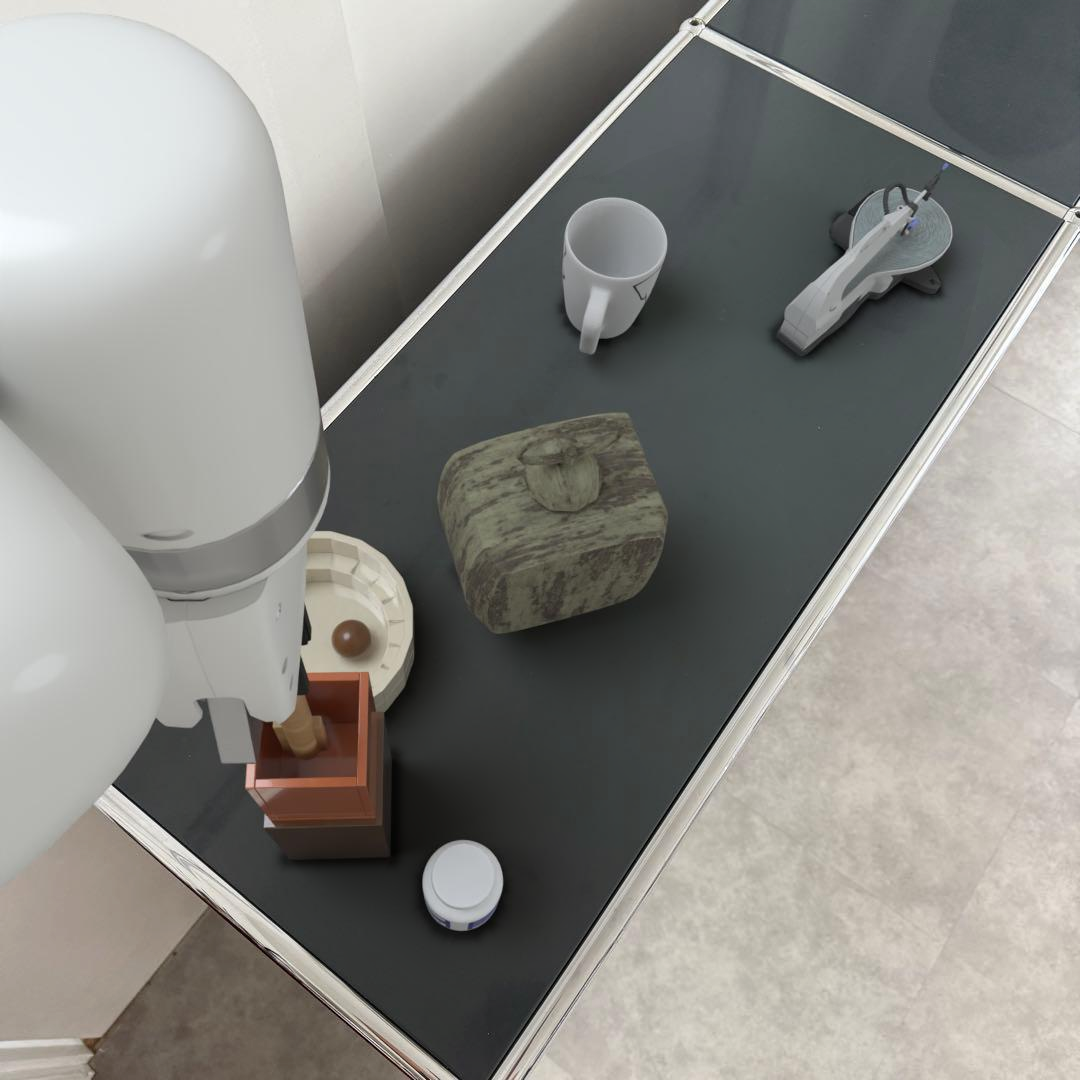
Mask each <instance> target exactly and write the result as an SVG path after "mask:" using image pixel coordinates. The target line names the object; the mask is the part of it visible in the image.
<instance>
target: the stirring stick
mask: <svg viewBox="0 0 1080 1080" xmlns="http://www.w3.org/2000/svg"><path fill="white" fill-rule="evenodd" d="M273 729H274V731H275V733H276V735H277V737H278V739H279V741H280V743H281V745H282V747H283V749H284V751H293V753H294V755H295V756H296V757H297V758H299V759H302V760H309V759H312V758H314V757H315V756H316V755H317V754H318V753H319V751H327V750H328V749H329V740H328V737H327V734H326V730H325V727H324V724H323V721H322V718H321V716H312V714H311V711H310V708H309V706H308V703H307V700H306V697H305V695H297V699H296V706H295V710H294V712H293V713H292V714H291V715H290V716H289V717H288V718H287V719H286V720H285V721H284V722H282V723H281V724H276V722H275V721H273Z"/></svg>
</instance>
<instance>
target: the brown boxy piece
mask: <svg viewBox="0 0 1080 1080" xmlns="http://www.w3.org/2000/svg"><path fill="white" fill-rule="evenodd" d="M307 676H308V679H309V693H308V694H306V695H305V697H306V700H307V703H308V706H309V708H310V711H311V714H312V716H321V718H322V721H323V724H324V727H325V730H326V734H327V737H328V740H329V749H328V750H327V751H319V753H318V754H317V755H316V756H315V757H314V758H312V759H309V760H302V759H299V758H297V757H296V756H295V755H294V753H293V751H284V749H283V747H282V745H281V743H280V741H279V739H278V737H277V735H276V733H275V731H274V729H273V721H271V722H265V721H262V722H263V728H262V735H261V743H260V751H259V758H258V763H257V764H246V766H245V767H246V768H245V780H244V781H245V782H244V789H245V790H246V792H247V793H248V794H249V795H250V796H251V798H252V799H253V800H254V802H255V803H256V804H257V805H258V807H259V808H260V810H261V811H262V812H263V824H262V825H263V830H264V831H265V832H266V833H267V835H268V836H269V837H270V838H271V840H273V842H274V843H275V844H276V845H277V847H279V849H280V850H281V851H282V853H284V855H285V856H286V857H287V858H288V859H289V861H303V860H304V861H305V860H307V861H308V860H337V859H369V858H371V859H374V858H375V859H376V858H390V857H391V854H392V853H391V851H392V849H391V847H392V846H391V845H392V843H391V842H392V841H391V840H392V836H391V835H392V781H393V779H392V778H393V777H392V775H393V772H392V771H393V770H392V769H393V759H392V752H391V746H390V740H389V733H388V728H387V722H386V716H385V712H376V708H375V703H374V697H373V692H372V687H371V681H370V676H369V672H360V673H359V672H315V673H307Z"/></svg>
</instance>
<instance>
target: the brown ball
mask: <svg viewBox="0 0 1080 1080" xmlns="http://www.w3.org/2000/svg"><path fill="white" fill-rule="evenodd" d="M331 643H332V647H333V649H334V651H335V652H336V653H337V654H338V655H339V656H340V657H342V658H344V659H348V660H355V659H359V658H361V657H363V656H364V655H365V654H366V653H367V652H368V651H369V649H370V647H371V644H372V635H371V632H370V630H369V628H368V627H367V626H366V625H365V624H364V623H363V622H361V621H359V620H354V619H350V620H345V621H343V622H341V623H340V624H338V625H337V626H336V627H335V629H334V631H333V633H332V636H331Z"/></svg>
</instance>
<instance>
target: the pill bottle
mask: <svg viewBox="0 0 1080 1080" xmlns="http://www.w3.org/2000/svg"><path fill="white" fill-rule="evenodd" d="M421 880H422V881H421V883H422V884H421V885H422V893H423V898H424V902H425V906H426V908H427V910H428V912H429V914H430V915H431V917H432V918H433V919H434V920H435V921H436V923H438V924H439V925H441V926H443V927H445V928H447V929H449V930H452V931H456V932H457V931H458V932H464V931H465V932H467V931H470V930H474V929H477V928H479V927H480V926H482V925H484V924H486V922H487V921H488V920H489V919H490V918H491V917H492V916H493V914H495V913H494V912H495V911H496V909H497V907H498V904H499V901H500V898H501V896H502V892H503V887H504V876H503V871H502V867H501V864H500V862H499V860H498V858H497V856H495V854H494V853H493V852H492V851H491V850H490V849H489V848H488V847H487V846H485V845H483V844H482V843H480V842H476V841H473V840H470V839H468V840H467V839H457V840H453V841H450V842H447V843H445V844H443V845H442V846H440V847H439V848H438V849H436V850H435V851H434V852H433V854H431V856H430V858H429V859H428V860H427V863H426V864H425V867H424V870H423V873H422V879H421Z"/></svg>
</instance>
